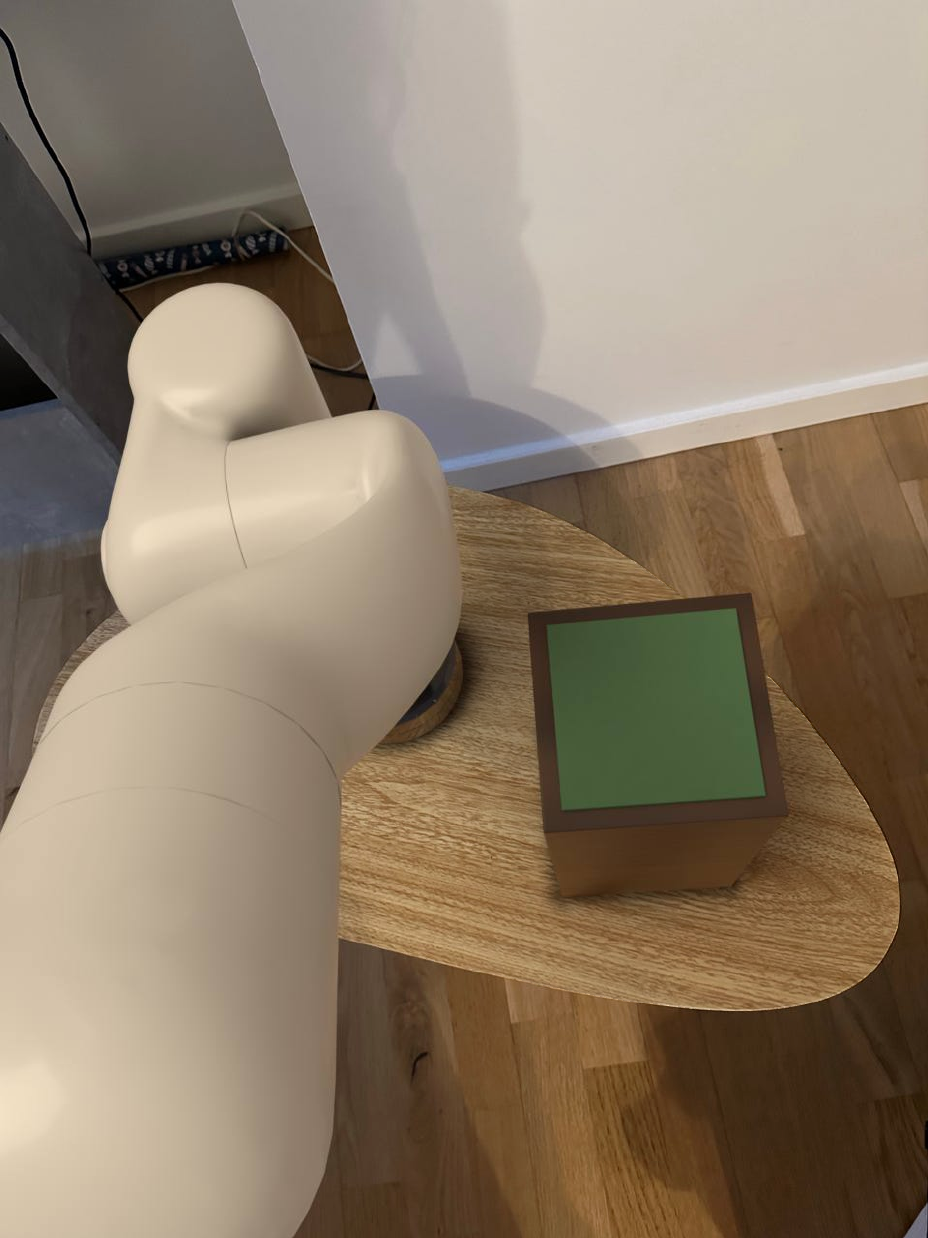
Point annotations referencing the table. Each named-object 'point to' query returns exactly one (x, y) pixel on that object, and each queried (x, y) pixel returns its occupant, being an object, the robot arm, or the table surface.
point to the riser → (668, 833)
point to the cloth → (653, 711)
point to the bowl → (431, 701)
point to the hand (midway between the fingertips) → (359, 621)
